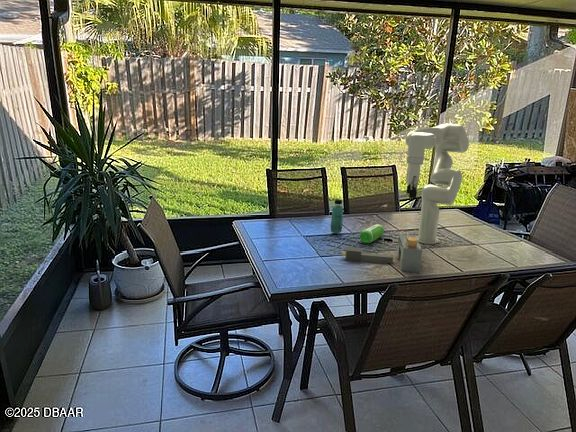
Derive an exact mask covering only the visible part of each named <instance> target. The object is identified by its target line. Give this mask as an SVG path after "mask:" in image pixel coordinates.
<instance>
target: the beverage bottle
mask: <svg viewBox="0 0 576 432" xmlns="http://www.w3.org/2000/svg"><path fill="white" fill-rule="evenodd" d="M334 204H335V205H333V206H332V208H331V219H330V220H331V221H330V232H331V233H333V234H340V233H342V232H343V217H344V206H343V205H342V204H343V201H342V199H340V198H339V199H338V198H337V199H335V200H334Z"/></svg>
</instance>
